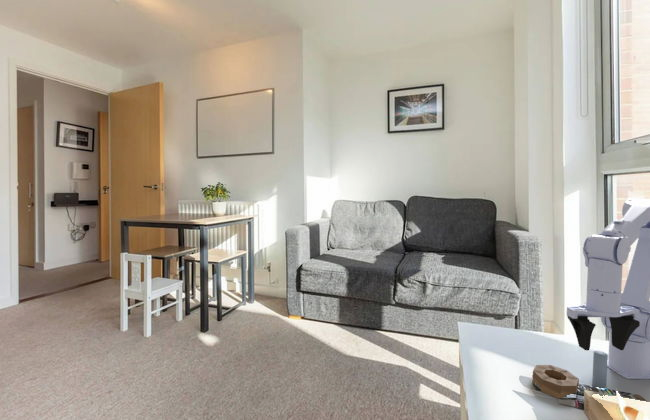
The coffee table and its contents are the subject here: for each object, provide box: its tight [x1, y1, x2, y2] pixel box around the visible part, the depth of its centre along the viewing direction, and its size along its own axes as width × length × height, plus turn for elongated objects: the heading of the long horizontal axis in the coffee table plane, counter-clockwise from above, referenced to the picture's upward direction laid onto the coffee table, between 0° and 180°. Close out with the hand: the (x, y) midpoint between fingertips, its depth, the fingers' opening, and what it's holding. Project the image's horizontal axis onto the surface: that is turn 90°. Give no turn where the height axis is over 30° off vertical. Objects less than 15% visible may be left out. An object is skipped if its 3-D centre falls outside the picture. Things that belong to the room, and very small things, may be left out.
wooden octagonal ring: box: [532, 364, 580, 399], centre depth 72 cm, size 8×8×3 cm
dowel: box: [591, 350, 609, 389], centre depth 71 cm, size 2×2×8 cm
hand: (600, 348), depth 71 cm, fingers open, 7 cm apart
